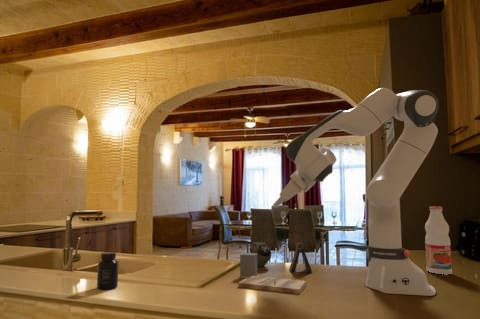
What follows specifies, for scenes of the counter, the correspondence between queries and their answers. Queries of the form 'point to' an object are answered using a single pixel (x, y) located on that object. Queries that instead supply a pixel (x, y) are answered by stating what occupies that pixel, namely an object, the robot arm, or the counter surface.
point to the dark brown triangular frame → (295, 260)
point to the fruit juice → (437, 243)
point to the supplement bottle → (107, 271)
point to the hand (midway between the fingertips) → (275, 205)
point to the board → (273, 284)
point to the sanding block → (248, 265)
